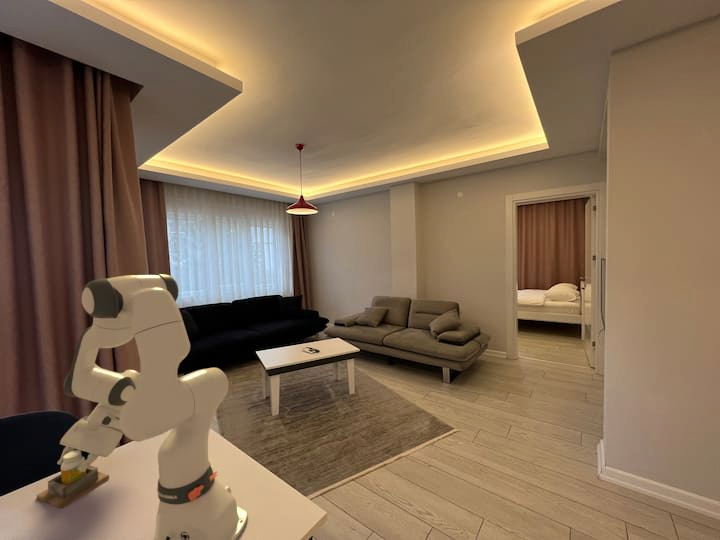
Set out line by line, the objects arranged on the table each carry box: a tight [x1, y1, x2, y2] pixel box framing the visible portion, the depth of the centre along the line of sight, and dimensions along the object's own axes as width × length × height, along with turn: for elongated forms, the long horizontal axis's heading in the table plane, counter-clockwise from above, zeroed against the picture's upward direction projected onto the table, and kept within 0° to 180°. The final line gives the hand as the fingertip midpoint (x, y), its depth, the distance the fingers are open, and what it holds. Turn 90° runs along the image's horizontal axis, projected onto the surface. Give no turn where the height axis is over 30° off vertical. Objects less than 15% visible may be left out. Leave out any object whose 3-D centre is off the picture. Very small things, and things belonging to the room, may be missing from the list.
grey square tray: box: [36, 464, 110, 509], centre depth 92 cm, size 12×12×4 cm
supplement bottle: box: [60, 449, 86, 486], centre depth 92 cm, size 5×5×10 cm
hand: (70, 467), depth 91 cm, fingers open, 8 cm apart
